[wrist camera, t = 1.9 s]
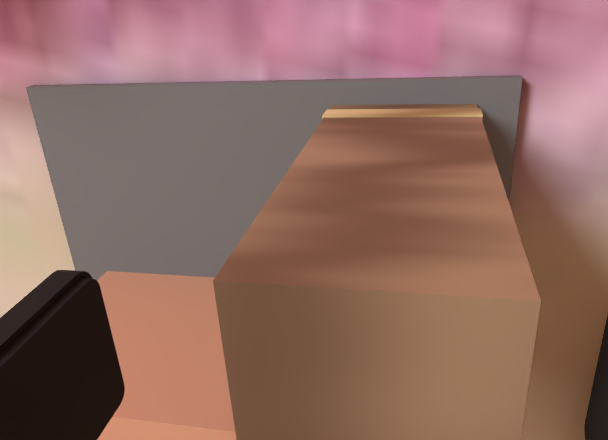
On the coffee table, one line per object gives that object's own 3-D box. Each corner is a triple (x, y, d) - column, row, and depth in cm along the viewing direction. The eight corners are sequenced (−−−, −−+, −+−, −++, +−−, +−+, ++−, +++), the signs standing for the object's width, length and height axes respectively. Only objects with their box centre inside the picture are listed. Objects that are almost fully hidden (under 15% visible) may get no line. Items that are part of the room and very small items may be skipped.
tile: (345, 285, 20) (305, 440, 14) (346, 327, 21) (309, 493, 15) (107, 270, 23) (-28, 399, 16) (116, 310, 23) (-8, 447, 17)
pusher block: (478, 102, 17) (545, 297, 7) (468, 235, 19) (510, 535, 9) (331, 103, 18) (208, 277, 8) (335, 230, 20) (242, 495, 10)
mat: (520, 75, 16) (522, 77, 16) (477, 473, 24) (478, 480, 23) (33, 85, 20) (26, 87, 20) (123, 427, 27) (119, 433, 27)
